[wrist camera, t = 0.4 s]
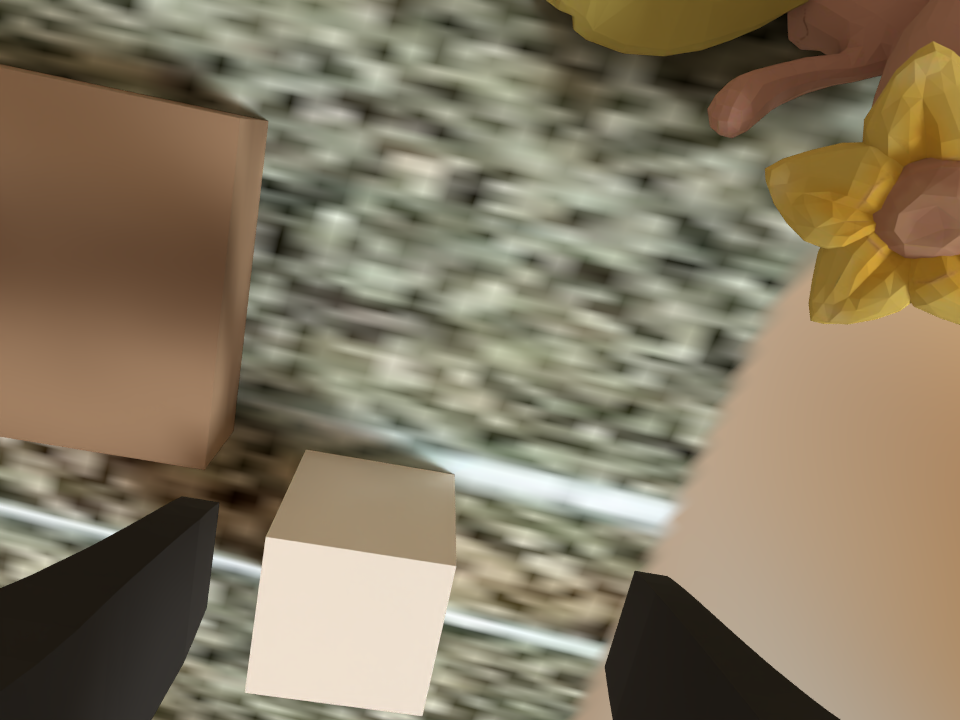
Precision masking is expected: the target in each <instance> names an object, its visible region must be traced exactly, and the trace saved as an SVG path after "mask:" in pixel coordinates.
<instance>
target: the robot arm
mask: <svg viewBox="0 0 960 720" xmlns="http://www.w3.org/2000/svg"><path fill="white" fill-rule="evenodd" d="M218 510H219V502H213V501H206V500H200V499H194V498H188V497H180V498H178V499H176V500H174V501H172V502H170V503H168V504H167V505H165V506H163V507H161V508H159V509H158V510H156V511H154V512H152V513H151V514H149V515H147V516H145V517H144V518H142V519H140V520H138V521H136V522H135V523H133V524H131V525H129V526H127V527H126V528H124V529H122V530H120V531H118V532H116V533H115V534H113V535H111V536H109V537H107V538H105V539H103V540H102V541H100V542H98V543H96V544H94V545H92V546H90V547H88V548H86V549H84V550H82V551H80V552H78V553H76V554H74V555H72V556H70V557H68V558H66V559H64V560H62V561H59V562H57V563H55V564H53V565H51V566H49V567H47V568H45V569H43V570H41V571H39V572H37V573H35V574H33V575H30V576H28V577H26V578H23V579H21V580H19V581H17V582H14V583H12V584H9V585H7V586H5V587H2V588H0V720H151V719H152V718H153V716H154V714H155V713H156V711H157V709H158V707H159V706H160V704H161V702H162V700H163V699H164V697H165V695H166V693H167V691H168V690H169V688H170V686H171V684H172V683H173V681H174V679H175V677H176V676H177V674H178V672H179V670H180V668H181V667H182V665H183V663H184V661H185V659H186V656H187V654H188V652H189V649H190V647H191V645H192V642H193V640H194V638H195V635H196V633H197V630H198V628H199V625H200V623H201V620H202V618H203V615H204V613H205V611H206V608H207V602H208V593H209V585H210V577H211V568H212V560H213V552H214V544H215V535H216V527H217V519H218ZM605 672H606V679H607V686H608V693H609V700H610V706H611V712H612V717H613V720H840V719H839V718H837V717H836V716H834V715H833V714H831V713H830V712H829V711H827V710H826V709H825V708H823V707H822V706H821V705H819V704H818V703H817V702H816V701H814V700H813V699H812V698H810V697H809V696H808V695H806V694H805V693H804V692H803V691H801V690H800V689H799V688H798V687H797V686H795V685H794V684H793V683H792V682H790V681H789V680H788V679H787V678H785V677H784V676H783V675H782V674H780V673H779V672H778V671H776V670H775V669H774V668H773V667H772V666H771V665H770V664H768V663H767V662H766V661H765V660H764V659H763V658H761V657H760V656H759V655H758V654H757V653H756V652H754V651H753V650H752V649H751V648H750V647H749V646H748V645H746V644H745V643H744V642H743V641H742V640H741V639H740V638H738V637H737V636H736V635H735V634H734V633H733V632H732V631H731V630H730V629H728V628H727V627H726V626H725V625H724V624H723V623H722V622H721V621H720V620H719V619H717V618H716V617H715V616H714V615H713V614H712V613H711V612H710V611H709V610H708V609H706V608H705V607H704V606H703V605H702V604H701V603H700V602H699V601H697V600H696V599H695V598H694V597H693V596H692V595H691V594H689V593H688V592H687V591H686V590H685V589H684V588H682V587H681V586H680V585H679V584H677V583H676V582H675V581H673V580H672V579H671V578H669V577H668V576H663V575H657V574H651V573H645V572H639V571H635V572H634V575H633V578H632V581H631V584H630V588H629V591H628V594H627V597H626V600H625V603H624V607H623V610H622V613H621V616H620V619H619V623H618V626H617V629H616V632H615V635H614V639H613V642H612V645H611V648H610V651H609V655H608V658H607V661H606V664H605Z"/></svg>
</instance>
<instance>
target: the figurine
mask: <svg viewBox="0 0 960 720" xmlns="http://www.w3.org/2000/svg"><path fill="white" fill-rule="evenodd" d="M546 1H548V2H549V3H550V4H552V5H553V6H554V7H555V8H557V9H558V10H560V11H563V12H565V13H567V14H570V15H572V21H573V29H574V30H575V31H576V32H577V33H578V34H580V35H581V36H582V37H583V38H585V39H586V40H588V41H591V42H594V43H596V44H599V45H602V46H604V47H607V48H610V49H613V50H615V51H618V52H621V53H625V54H639V55H653V56H668V55H674V54H681V53H687V52H694V51H700V50H704V49H707V48H709V47H712V46H715V45H718V44H721V43H724V42H727V41H730V40H732V39H734V38H737V37H739V36H742V35H744V34H746V33H749V32H751V31H753V30H756V29H758V28H760V27H762V26H764V25H766V24H767V23H769V22H771V21H773V20H775V19H776V18H778V17H780V16H782V15H783V14H785V13H787V12H788V14H787V18H788V39H789V40H790V41H791V42H792V43H793V44H795V45H796V46H797V47H798V48H799V49H801V50H817V51H821V52H822V53H824V54H825V55H823V56H814V57H805V58H801V59H797V60H792V61H788V62H784V63H780V64H776V65H772V66H768V67H764V68H760V69H756V70H753V71H750V72H748V73H745V74H742V75H740V76H738V77H736V78H735V79H733V80H731V81H730V82H728V83H727V84H726V85H725V86H724V87H723V88H722V89H721V90H720V91H719V92H718V93H717V94H716V95H715V97H714V99H713V100H712V102H711V104H710V105H709V107H708V109H707V110H708V116H709V123H710V127H711V128H712V129H713V130H715V131H716V132H717V133H718V134H719V135H721V136H725V137H729V138H733V137H735V136H737V135H740V134H742V133H744V132H746V131H747V130H749V129H750V128H751V127H752V126H753V125H755V124H756V123H757V122H758V121H759V120H760V119H762V118H763V117H764V116H765V115H766V114H767V113H769V112H770V111H771V110H772V109H774V108H776V107H778V106H779V105H781V104H784V103H786V102H788V101H790V100H792V99H795V98H797V97H799V96H801V95H803V94H806V93H810V92H813V91H816V90H820V89H823V88H826V87H830V86H833V85H838V84H844V83H851V82H855V81H860V80H864V79H868V78H872V77H876V76H881V75H882V77H881V80H880V82H879V85H878V88H877V91H876V94H875V97H874V101H873V104H872V108H871V110H870V111H869V113H868V114H867V116H866V118H865V119H864V130H863V142H859V143H840V144H835V145H831V146H827V147H822V148H818V149H814V150H810V151H807V152H803V153H800V154H797V155H794V156H790V157H787V158H784V159H782V160H780V161H778V162H776V163H774V164H773V165H771V166H769V167H767V168H765V178H766V183H767V186H768V188H769V191H770V194H771V196H772V199H773V203H774V204H775V206H776V207H777V209H778V211H779V212H780V214H781V215H782V217H783V218H784V220H785V221H786V223H787V224H788V225H789V226H790V227H791V228H792V229H793V230H794V231H795V232H796V233H797V234H798V235H799V236H800V237H801V238H802V239H803V240H804V241H806V242H809V243H811V244H814V245H816V246H819V247H820V249H819V251H818V255H817V259H816V264H815V269H814V274H813V278H812V284H811V291H810V298H809V310H810V320H811V321H814V322H818V323H822V324H853V323H858V322H864V321H870V320H875V319H878V318H881V317H884V316H887V315H890V314H893V313H896V312H899V311H901V310H902V309H903V308H905V307H906V306H907V305H909V304H910V303H912V304H913V306H914V307H916V308H918V309H921V310H923V311H925V312H927V313H930V314H932V315H934V316H936V317H939V318H942V319H944V320H947V321H950V322H953V323H956V324H959V325H960V0H546Z"/></svg>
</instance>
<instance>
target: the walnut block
mask: <svg viewBox="0 0 960 720" xmlns="http://www.w3.org/2000/svg"><path fill="white" fill-rule="evenodd" d="M267 129H268V121H265V120H261V119H256V118H251V117H247V116H242V115H237V114H233V113H228V112H223V111H218V110H214V109H209V108H204V107H200V106H195V105H190V104H186V103H181V102H176V101H171V100H167V99H162V98H157V97H153V96H148V95H143V94H139V93H134V92H129V91H124V90H120V89H115V88H110V87H106V86H101V85H96V84H91V83H87V82H82V81H77V80H73V79H68V78H63V77H59V76H54V75H49V74H44V73H40V72H35V71H30V70H26V69H21V68H16V67H12V66H7V65H2V64H0V437H6V438H13V439H19V440H25V441H31V442H37V443H43V444H49V445H55V446H62V447H68V448H74V449H80V450H86V451H92V452H98V453H105V454H111V455H117V456H123V457H129V458H135V459H141V460H147V461H154V462H160V463H166V464H172V465H178V466H184V467H190V468H197V469H203V470H205V469H206V467H207V466H208V465H209V463H210V462H211V461H212V459H213V458H214V457H215V455H216V454H217V453H218V451H219V450H220V448H221V447H222V446H223V444H224V443H225V442H226V440H227V439H228V438H229V436H230V435H231V434H232V432H233V430H234V421H235V413H236V404H237V395H238V386H239V377H240V368H241V359H242V350H243V342H244V333H245V324H246V315H247V306H248V297H249V288H250V279H251V271H252V262H253V253H254V244H255V235H256V226H257V217H258V208H259V200H260V191H261V182H262V173H263V164H264V155H265V146H266V137H267Z"/></svg>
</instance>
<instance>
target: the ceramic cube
mask: <svg viewBox="0 0 960 720" xmlns="http://www.w3.org/2000/svg"><path fill="white" fill-rule="evenodd" d="M455 569H456V528H455V475H454V474H448V473H442V472H437V471H431V470H425V469H419V468H413V467H407V466H401V465H395V464H389V463H383V462H377V461H371V460H365V459H359V458H353V457H347V456H341V455H335V454H329V453H324V452H318V451H312V450H306V451H305V453H304V455H303V457H302V459H301V461H300V464H299V466H298V468H297V470H296V472H295V474H294V477H293V479H292V481H291V483H290V485H289V488H288V490H287V492H286V494H285V496H284V498H283V501H282V503H281V505H280V507H279V509H278V511H277V514H276V516H275V518H274V520H273V522H272V524H271V527H270V529H269V531H268V533H267V535H266V539H265V546H264V554H263V561H262V569H261V576H260V584H259V591H258V599H257V606H256V613H255V621H254V628H253V636H252V643H251V651H250V658H249V666H248V673H247V680H246V688H245V693H252V694H259V695H267V696H274V697H282V698H290V699H297V700H305V701H312V702H320V703H327V704H335V705H342V706H350V707H358V708H365V709H373V710H380V711H388V712H395V713H403V714H411V715H418V716H422V715H423V711H424V706H425V702H426V698H427V693H428V689H429V684H430V680H431V675H432V671H433V667H434V662H435V658H436V653H437V649H438V645H439V640H440V636H441V631H442V627H443V622H444V618H445V614H446V609H447V605H448V600H449V596H450V591H451V587H452V583H453V578H454V574H455Z"/></svg>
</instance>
